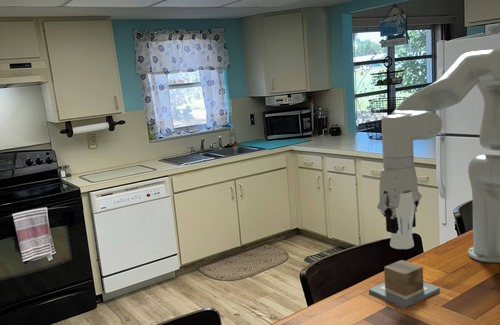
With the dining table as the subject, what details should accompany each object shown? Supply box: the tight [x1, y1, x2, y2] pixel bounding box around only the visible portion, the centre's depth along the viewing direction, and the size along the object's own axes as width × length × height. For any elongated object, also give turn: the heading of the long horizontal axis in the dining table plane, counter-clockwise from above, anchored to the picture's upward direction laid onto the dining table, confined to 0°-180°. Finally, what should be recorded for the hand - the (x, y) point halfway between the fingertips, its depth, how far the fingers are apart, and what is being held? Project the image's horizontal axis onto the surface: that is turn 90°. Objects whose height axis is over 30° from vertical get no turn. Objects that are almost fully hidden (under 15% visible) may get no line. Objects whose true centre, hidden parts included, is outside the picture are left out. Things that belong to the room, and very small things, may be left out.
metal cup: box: [388, 190, 415, 250], centre depth 122 cm, size 7×7×15 cm
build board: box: [368, 281, 441, 309], centre depth 125 cm, size 14×12×1 cm
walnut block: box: [383, 259, 424, 296], centre depth 125 cm, size 7×7×6 cm
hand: (401, 228), depth 123 cm, fingers closed on metal cup, 6 cm apart
